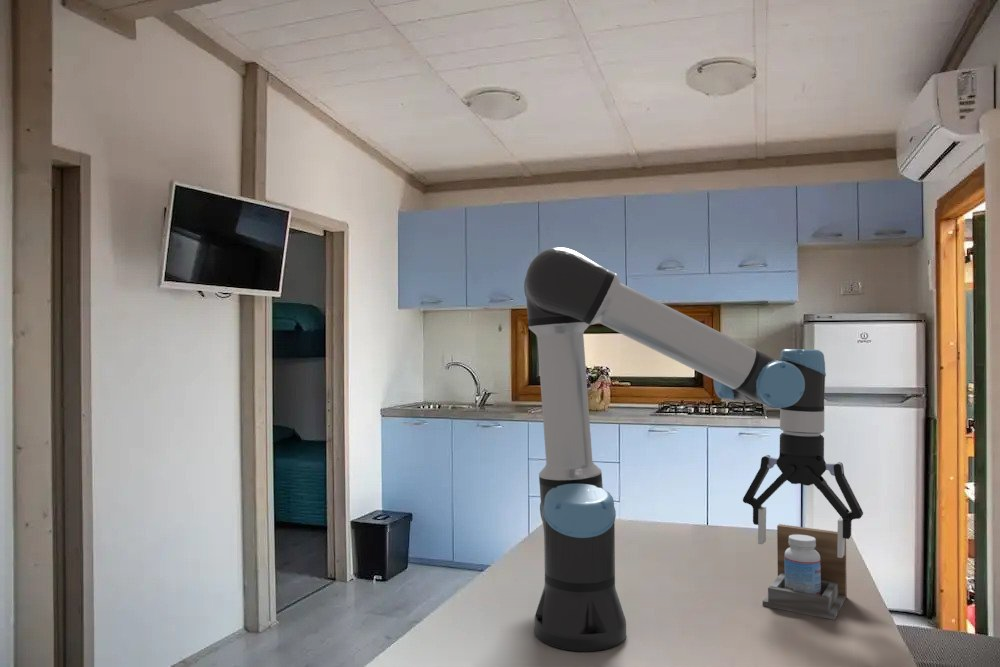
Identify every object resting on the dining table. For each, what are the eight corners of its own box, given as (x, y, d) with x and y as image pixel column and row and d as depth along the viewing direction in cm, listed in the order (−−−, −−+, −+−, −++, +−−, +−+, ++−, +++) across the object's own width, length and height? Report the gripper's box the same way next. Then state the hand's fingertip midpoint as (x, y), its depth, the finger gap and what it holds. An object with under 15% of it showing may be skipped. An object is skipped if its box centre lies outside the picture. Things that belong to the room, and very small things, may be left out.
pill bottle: (824, 606, 127) (824, 542, 127) (788, 603, 128) (787, 541, 128) (816, 594, 133) (816, 534, 133) (782, 592, 134) (781, 532, 134)
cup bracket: (834, 619, 123) (833, 550, 123) (762, 605, 130) (761, 539, 130) (846, 597, 134) (845, 533, 134) (779, 585, 140) (779, 524, 141)
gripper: (880, 437, 127) (879, 556, 127) (738, 425, 141) (737, 533, 141) (875, 441, 121) (873, 567, 120) (727, 429, 135) (725, 541, 134)
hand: (800, 549), depth 131 cm, fingers open, 13 cm apart
